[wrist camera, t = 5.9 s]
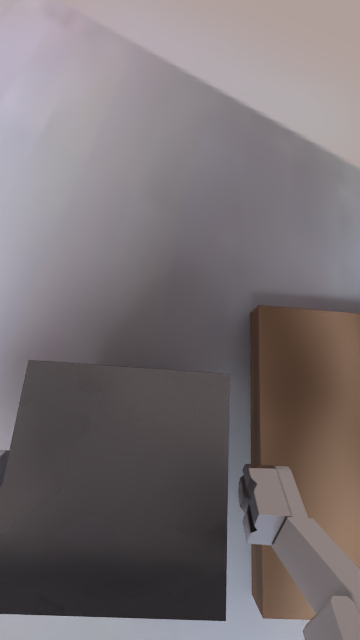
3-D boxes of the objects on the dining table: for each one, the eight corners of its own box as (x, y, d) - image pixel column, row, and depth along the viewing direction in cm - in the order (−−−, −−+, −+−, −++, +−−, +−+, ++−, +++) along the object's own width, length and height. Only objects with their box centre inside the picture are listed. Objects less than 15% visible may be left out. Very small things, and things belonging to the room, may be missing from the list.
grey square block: (72, 500, 14) (-25, 613, 7) (90, 377, 15) (28, 359, 8) (192, 506, 14) (225, 621, 7) (198, 384, 16) (229, 374, 9)
